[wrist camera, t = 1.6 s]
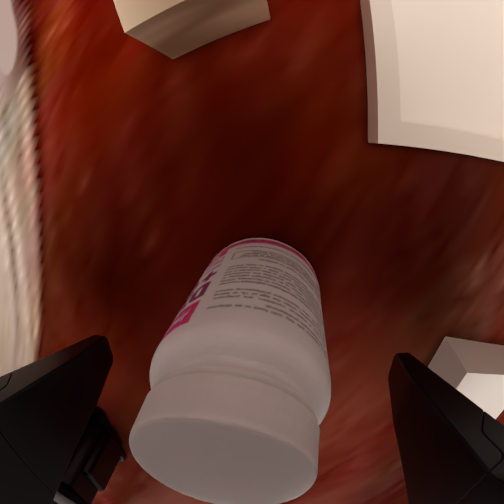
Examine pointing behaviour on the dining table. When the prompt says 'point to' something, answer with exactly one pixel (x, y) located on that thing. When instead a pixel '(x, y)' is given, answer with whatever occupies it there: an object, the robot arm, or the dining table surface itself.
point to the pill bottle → (240, 382)
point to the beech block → (187, 21)
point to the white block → (473, 371)
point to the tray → (436, 74)
